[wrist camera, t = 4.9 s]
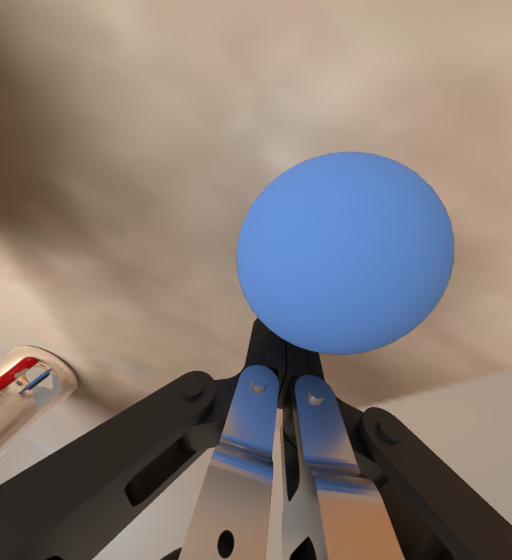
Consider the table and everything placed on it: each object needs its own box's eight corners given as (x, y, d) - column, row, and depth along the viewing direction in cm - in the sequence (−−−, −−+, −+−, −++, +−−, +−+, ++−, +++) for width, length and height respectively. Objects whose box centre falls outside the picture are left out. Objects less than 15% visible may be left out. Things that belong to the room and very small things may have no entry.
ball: (230, 318, 9) (254, 200, 10) (351, 342, 9) (369, 224, 10) (190, 366, 3) (260, 45, 4) (539, 433, 3) (564, 110, 4)
